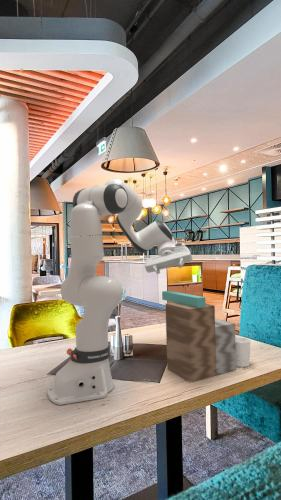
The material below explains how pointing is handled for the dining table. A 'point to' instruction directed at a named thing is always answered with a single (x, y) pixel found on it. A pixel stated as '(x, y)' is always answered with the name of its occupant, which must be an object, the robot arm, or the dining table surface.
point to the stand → (198, 342)
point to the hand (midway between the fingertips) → (168, 269)
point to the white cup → (242, 351)
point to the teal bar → (184, 299)
